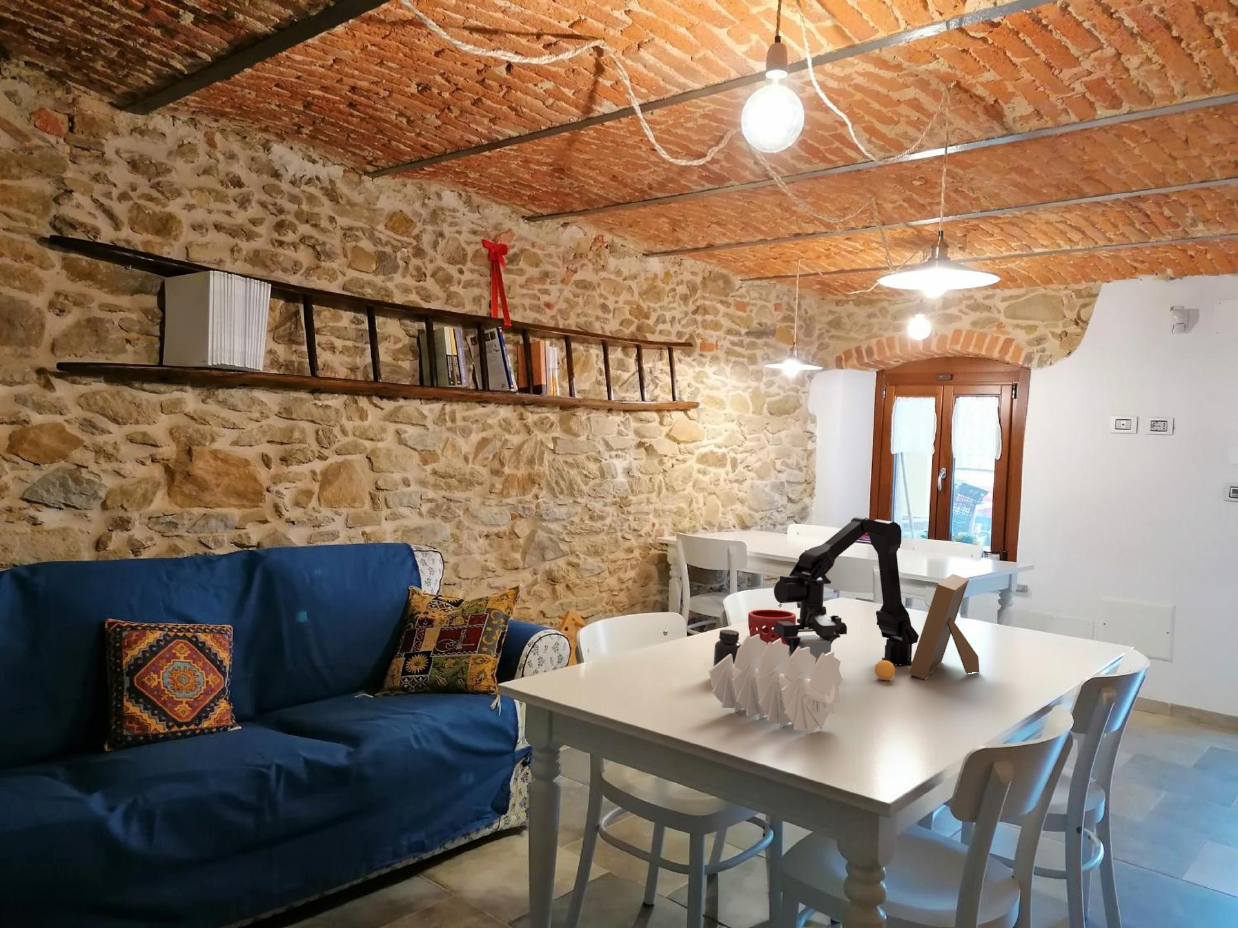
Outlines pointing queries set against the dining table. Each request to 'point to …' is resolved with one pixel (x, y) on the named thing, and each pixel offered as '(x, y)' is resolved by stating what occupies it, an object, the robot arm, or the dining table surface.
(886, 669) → the ball
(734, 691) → the spiral staircase
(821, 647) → the grey block
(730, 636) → the supplement bottle
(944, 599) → the photo frame
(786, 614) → the plant pot
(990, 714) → the dining table surface
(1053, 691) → the dining table surface
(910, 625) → the robot arm
